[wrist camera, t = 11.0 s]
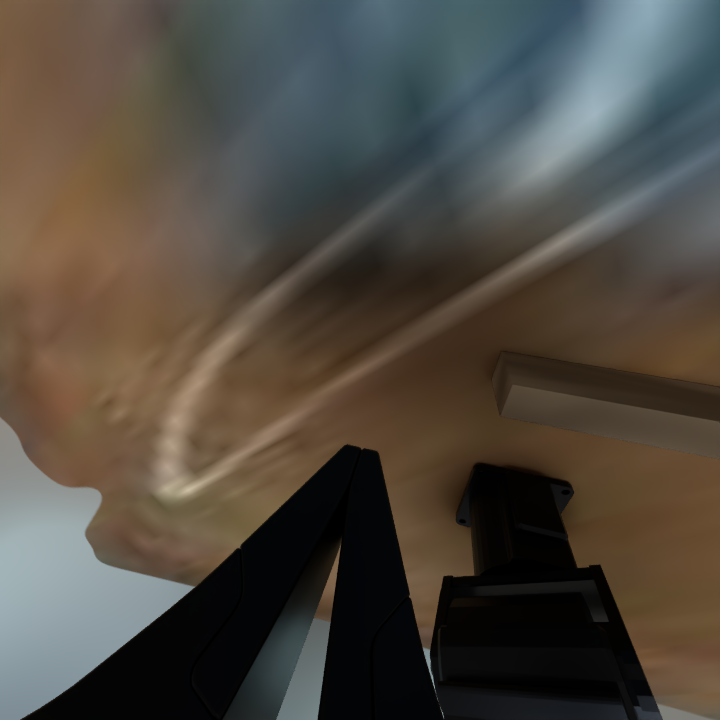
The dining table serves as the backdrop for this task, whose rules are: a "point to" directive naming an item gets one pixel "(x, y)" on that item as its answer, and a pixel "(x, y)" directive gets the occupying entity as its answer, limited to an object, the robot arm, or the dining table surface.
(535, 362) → the chute
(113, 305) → the dining table surface
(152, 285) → the dining table surface
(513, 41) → the dining table surface
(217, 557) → the dining table surface
